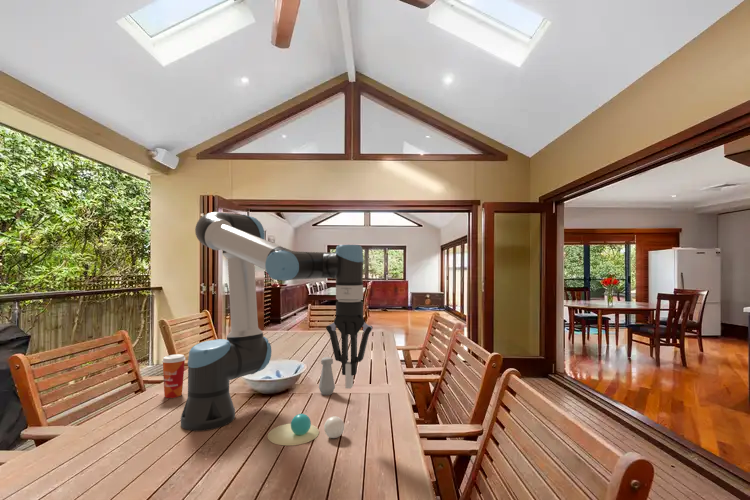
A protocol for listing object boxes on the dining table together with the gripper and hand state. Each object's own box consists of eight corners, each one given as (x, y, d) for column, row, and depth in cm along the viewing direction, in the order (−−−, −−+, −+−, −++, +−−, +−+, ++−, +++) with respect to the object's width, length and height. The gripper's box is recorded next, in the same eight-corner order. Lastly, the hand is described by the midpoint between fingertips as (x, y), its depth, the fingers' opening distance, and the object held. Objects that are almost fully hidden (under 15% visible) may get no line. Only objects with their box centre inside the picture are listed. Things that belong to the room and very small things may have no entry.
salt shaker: (331, 396, 138) (332, 360, 138) (316, 395, 139) (316, 359, 140) (336, 391, 144) (336, 356, 144) (322, 390, 145) (322, 355, 145)
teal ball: (308, 437, 104) (289, 440, 105) (315, 428, 110) (297, 431, 110) (304, 416, 105) (285, 419, 105) (311, 409, 110) (293, 412, 111)
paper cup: (156, 397, 137) (156, 357, 138) (174, 390, 144) (175, 353, 145) (172, 400, 134) (172, 359, 135) (190, 393, 141) (190, 355, 142)
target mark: (258, 443, 102) (258, 442, 102) (280, 421, 116) (280, 421, 116) (308, 447, 100) (308, 446, 100) (325, 425, 113) (325, 424, 113)
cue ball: (345, 432, 102) (331, 446, 103) (350, 424, 108) (336, 437, 108) (331, 416, 103) (317, 430, 104) (336, 409, 109) (323, 422, 109)
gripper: (322, 301, 104) (322, 389, 103) (370, 302, 101) (370, 392, 101) (330, 298, 111) (330, 381, 110) (375, 299, 109) (375, 384, 108)
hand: (349, 386), depth 105 cm, fingers closed
